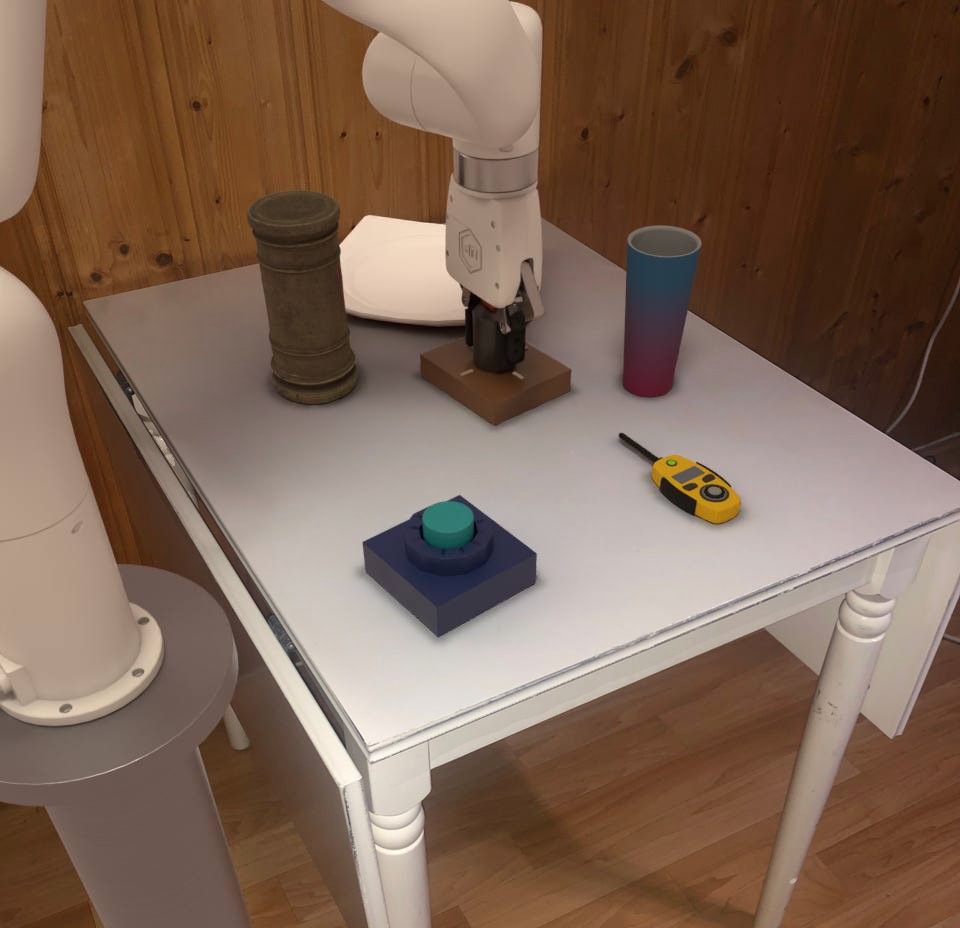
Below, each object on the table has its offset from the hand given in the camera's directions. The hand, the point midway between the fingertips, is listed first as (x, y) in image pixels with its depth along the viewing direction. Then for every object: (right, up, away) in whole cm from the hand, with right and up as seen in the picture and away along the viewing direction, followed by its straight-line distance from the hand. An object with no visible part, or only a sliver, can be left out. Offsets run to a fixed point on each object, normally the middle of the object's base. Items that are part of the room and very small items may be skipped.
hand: (494, 351), depth 105 cm
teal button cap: (-4, -21, -22) cm, 30 cm away
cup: (+16, -3, +2) cm, 16 cm away
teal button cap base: (-4, -24, -19) cm, 31 cm away
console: (0, -3, +3) cm, 4 cm away
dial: (0, -1, +1) cm, 1 cm away
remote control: (+16, -14, -9) cm, 23 cm away
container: (-18, -2, +3) cm, 19 cm away
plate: (-8, +13, +19) cm, 24 cm away
